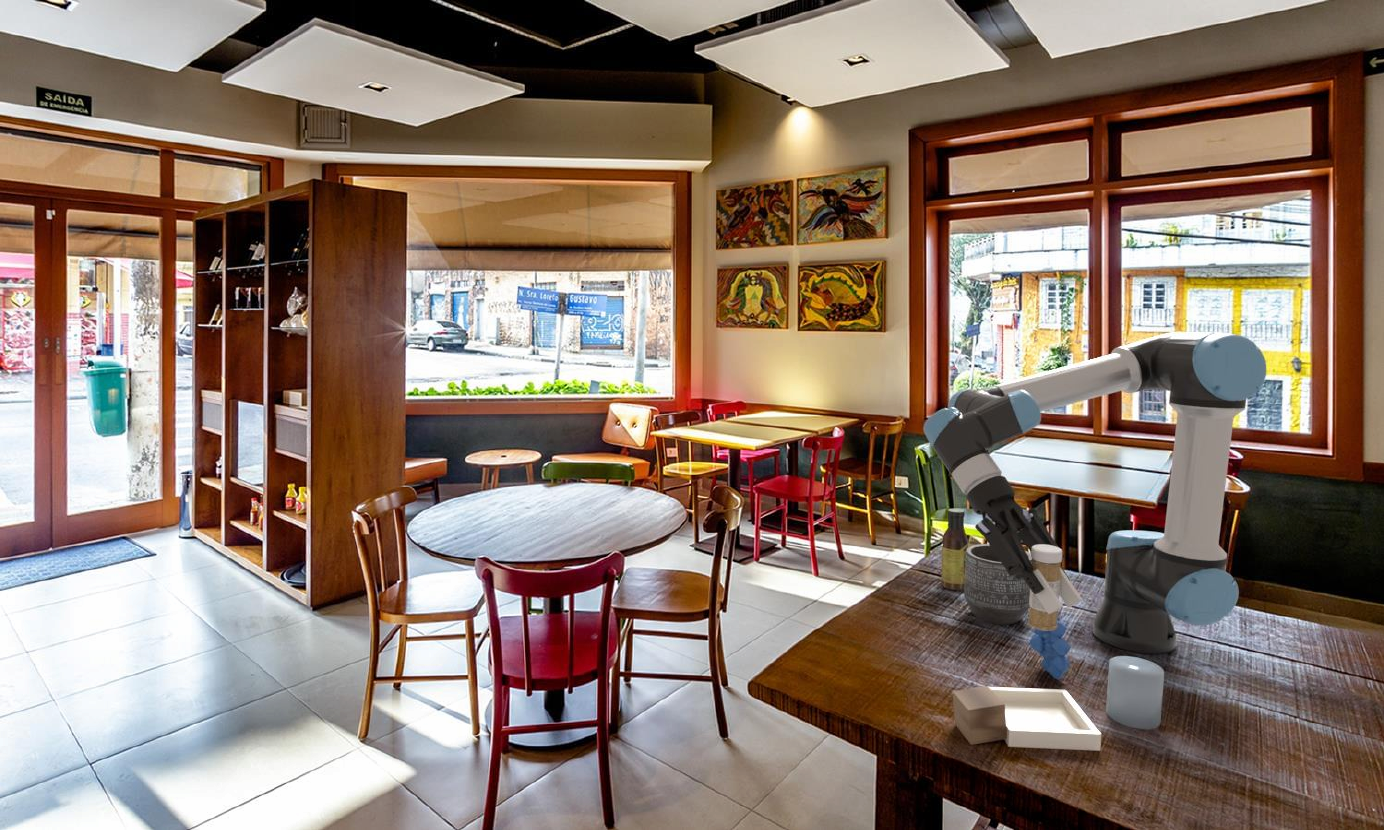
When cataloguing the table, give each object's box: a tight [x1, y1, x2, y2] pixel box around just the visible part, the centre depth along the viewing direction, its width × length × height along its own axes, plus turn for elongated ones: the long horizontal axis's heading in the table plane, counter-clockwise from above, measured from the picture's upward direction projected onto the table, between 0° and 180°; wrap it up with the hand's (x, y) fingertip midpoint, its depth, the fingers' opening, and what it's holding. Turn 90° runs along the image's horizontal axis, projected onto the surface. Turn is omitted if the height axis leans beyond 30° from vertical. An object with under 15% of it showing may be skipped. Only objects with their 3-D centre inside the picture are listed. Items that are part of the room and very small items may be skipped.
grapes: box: [1028, 615, 1071, 680], centre depth 142 cm, size 12×7×12 cm, turn 177°
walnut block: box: [951, 685, 1007, 746], centre depth 121 cm, size 6×6×6 cm
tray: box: [988, 686, 1102, 752], centre depth 124 cm, size 14×14×3 cm
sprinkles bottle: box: [1027, 544, 1063, 631], centre depth 121 cm, size 5×5×14 cm
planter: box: [963, 543, 1032, 626], centre depth 168 cm, size 14×14×15 cm
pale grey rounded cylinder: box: [1105, 655, 1165, 730], centre depth 127 cm, size 8×11×9 cm
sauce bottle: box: [940, 508, 969, 591], centre depth 186 cm, size 7×6×20 cm
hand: (1065, 606), depth 118 cm, fingers closed on sprinkles bottle, 4 cm apart
